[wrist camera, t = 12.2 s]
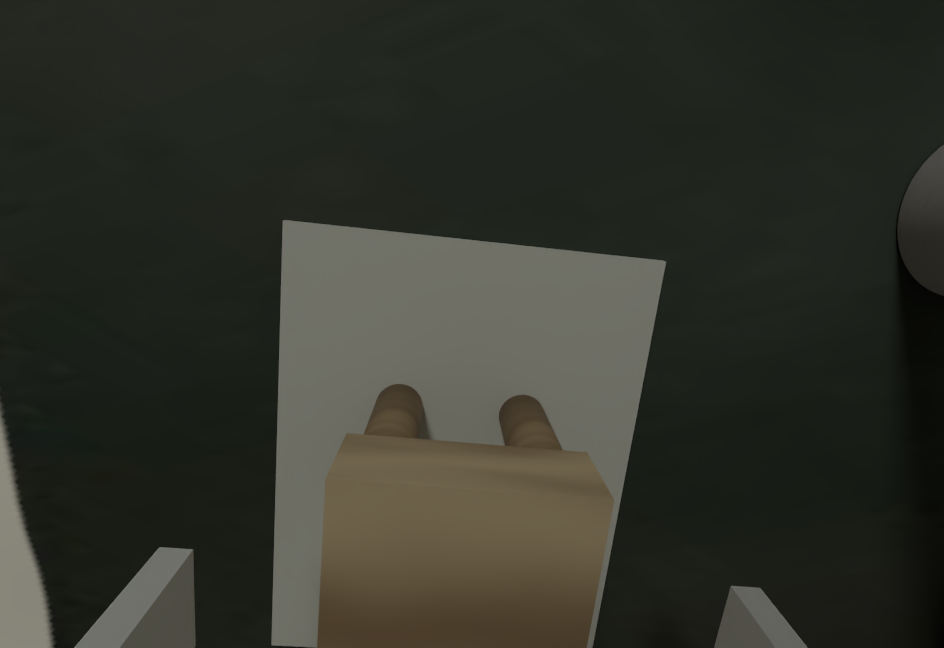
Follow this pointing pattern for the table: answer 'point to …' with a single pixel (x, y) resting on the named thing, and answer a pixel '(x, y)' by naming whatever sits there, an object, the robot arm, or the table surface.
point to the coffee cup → (924, 224)
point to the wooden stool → (460, 535)
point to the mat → (444, 364)
